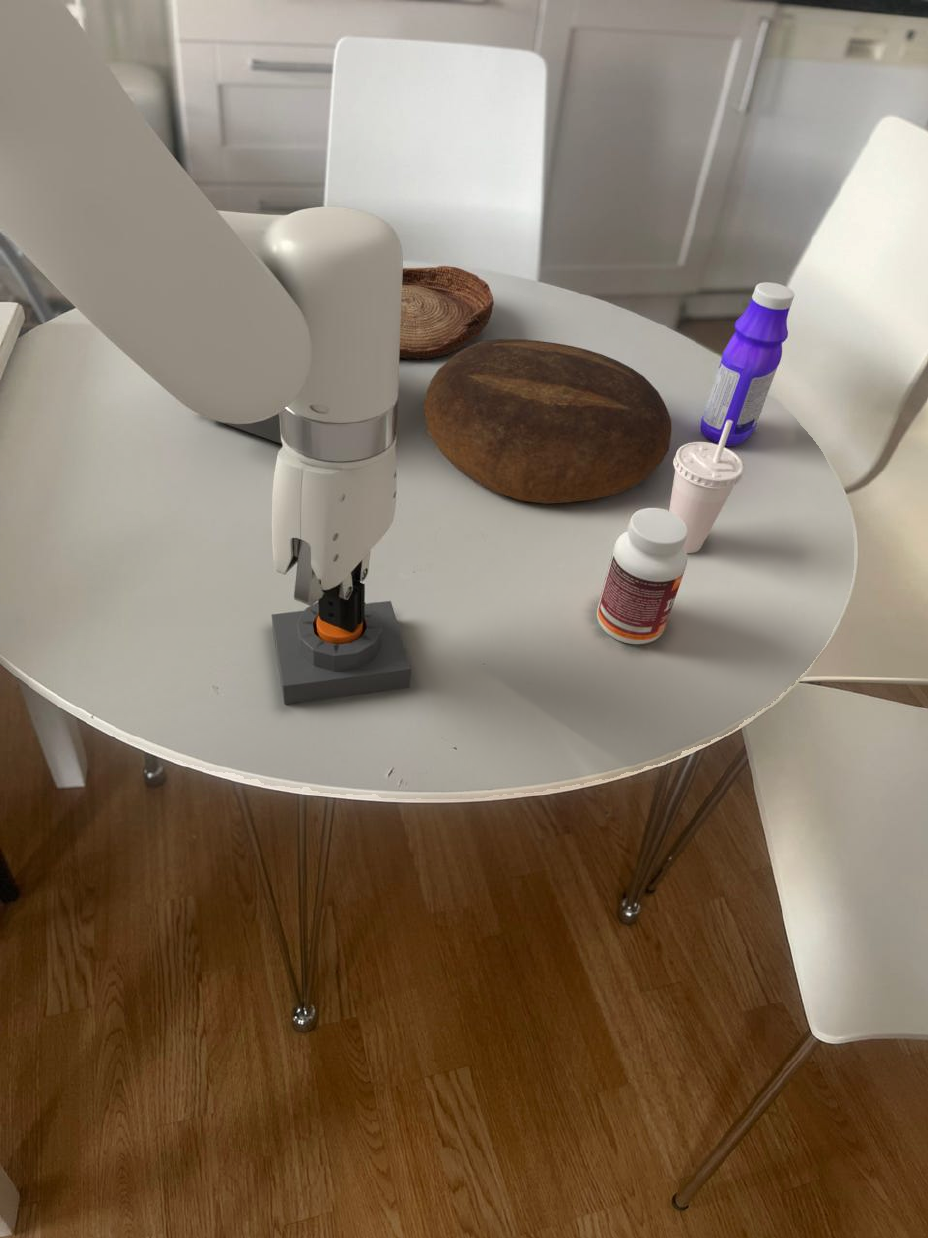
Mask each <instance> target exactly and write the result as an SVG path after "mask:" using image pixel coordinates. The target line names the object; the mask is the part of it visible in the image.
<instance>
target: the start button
mask: <svg viewBox="0 0 928 1238" xmlns="http://www.w3.org/2000/svg"><path fill="white" fill-rule="evenodd" d="M362 631H363V621H362V623H361V624H358V627H357V629H356V630H355V631H354V632H353V633H351V632H348V631H346V630H344V629H341V628H339V627H336V626H333V625H331V624H329V623H327V622H324V621H322V620H321V619H320V618H319V616H318V618H317V636H318V637H319V638H320V639H321V640H323V641H325V642H328V643H332V644H336V645H338V644H346V643H352V642H353V641H355V640H357V639H358V638H360V637H362Z"/></svg>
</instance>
